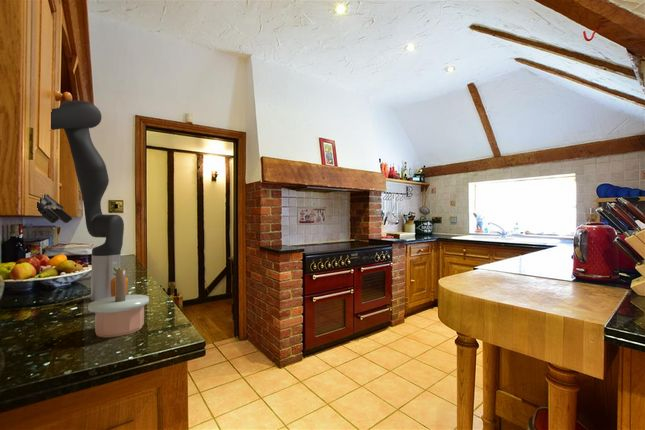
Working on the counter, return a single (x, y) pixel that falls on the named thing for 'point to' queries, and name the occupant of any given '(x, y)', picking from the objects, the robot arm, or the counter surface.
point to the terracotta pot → (119, 322)
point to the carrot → (115, 282)
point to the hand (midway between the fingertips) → (63, 221)
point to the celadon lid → (118, 298)
